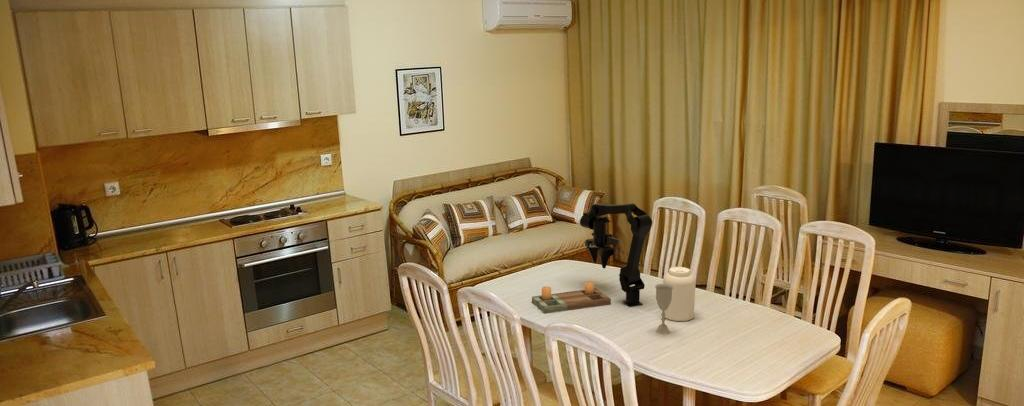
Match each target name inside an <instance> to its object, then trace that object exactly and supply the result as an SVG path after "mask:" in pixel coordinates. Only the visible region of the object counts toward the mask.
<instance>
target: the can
mask: <svg viewBox="0 0 1024 406" xmlns="http://www.w3.org/2000/svg"><path fill="white" fill-rule="evenodd" d="M662 284H670V285H673V289H672V300H671V302H670V305H669V307H668V308H667V310H665V319H667V320H669V321H675V322H685V321H686V322H687V321H690V320H693V318H694V317H695V305H696V304H695V300H696V299H695V297H696V278H695V276H694V275H693V274H692V271H691V269H690V268H688V267H684V266H672V267H670V268H669V269H668V272H667V273H665V275H664V277H663V283H662Z"/></svg>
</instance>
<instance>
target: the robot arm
mask: <svg viewBox="0 0 1024 406" xmlns="http://www.w3.org/2000/svg"><path fill="white" fill-rule="evenodd" d="M616 214H618V215H619V214H621V215H622V214H624V215H625V216H626V221H627V222H628V224H629V226H630V231H631V234H632V238H631V241H630V242H631V243H630V247H629V251H628V257H627V262H626V265H625V266H621V267H620V270H619V274H618V277H619V279H618V280H619V283H620V289H621V290H622V291H623V292H624V293H625V300H622V303H623V304H624V305H625V306H627V307H636V306H637V307H638V306H643V302H641V301H640V300H641V299H640V295H641V293H640V291H642V290H644V289H645V283H644V281H643V280H642V277H641V271H640V268H639V265H640V260H641V257H642V252H643V247H644V242H645V238H646V236H647V235H648V234H649V233H650V231H651V229H652V226H653V220H652V218H651V217H650V215H649V214H648V213H647V212H646V211H644V210H643V209H641V208H640V207H638V206H637V204H636V203H625V204H623V203H621V204H611V203H609V202H600V203H599V202H598V203H594V204H592V206H591V209H590V210H589V212H583V215H582V216H581V218H580V219H579V225H580V226H581V227H582V228H585V229H589V230H593V231H592V232H591V236H592V238H587V239H586V240H585V241H584V246H585V247H586V249H587V252H588V253H589V256H590V258H591V259H592V262H593V263H595V264H596V263H597V261H598V257H599V260H600V264H601V267H602V268H603V269H606V267H607V263H608V262H609V259H610V257H612V256H614V255H616V249H615V248H614V247H617V246H618V244H619V239H618V238H616V237H613V235H612V234H611V233H607V224H608V223H611V221H610V219H609V218H608V217H607V216H609V215H616ZM633 214H634V215H635V216H633ZM612 246H613V247H612Z"/></svg>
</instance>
